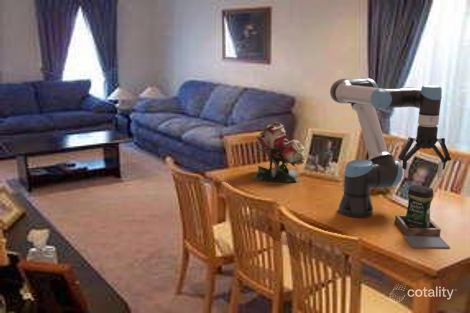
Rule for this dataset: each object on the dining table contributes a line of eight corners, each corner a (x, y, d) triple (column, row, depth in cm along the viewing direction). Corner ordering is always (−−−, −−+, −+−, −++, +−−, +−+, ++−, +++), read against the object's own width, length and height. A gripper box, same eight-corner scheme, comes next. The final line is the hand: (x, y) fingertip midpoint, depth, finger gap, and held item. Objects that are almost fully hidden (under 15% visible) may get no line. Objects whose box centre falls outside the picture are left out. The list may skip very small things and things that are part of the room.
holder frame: (406, 236, 201) (407, 229, 200) (394, 221, 216) (395, 215, 215) (439, 236, 201) (440, 229, 200) (425, 221, 216) (426, 215, 215)
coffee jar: (401, 228, 209) (405, 185, 204) (409, 223, 214) (413, 181, 210) (424, 234, 203) (429, 191, 198) (431, 229, 208) (436, 186, 204)
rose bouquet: (307, 183, 268) (310, 127, 261) (252, 182, 269) (253, 127, 261) (301, 169, 293) (304, 119, 286) (251, 169, 293) (252, 118, 286)
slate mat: (412, 248, 190) (412, 246, 190) (404, 237, 200) (404, 235, 200) (449, 248, 190) (449, 246, 190) (439, 237, 200) (439, 236, 200)
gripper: (399, 126, 194) (394, 179, 199) (463, 127, 194) (457, 180, 199) (393, 123, 201) (388, 174, 206) (455, 123, 201) (449, 174, 206)
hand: (422, 177), depth 203 cm, fingers open, 13 cm apart
